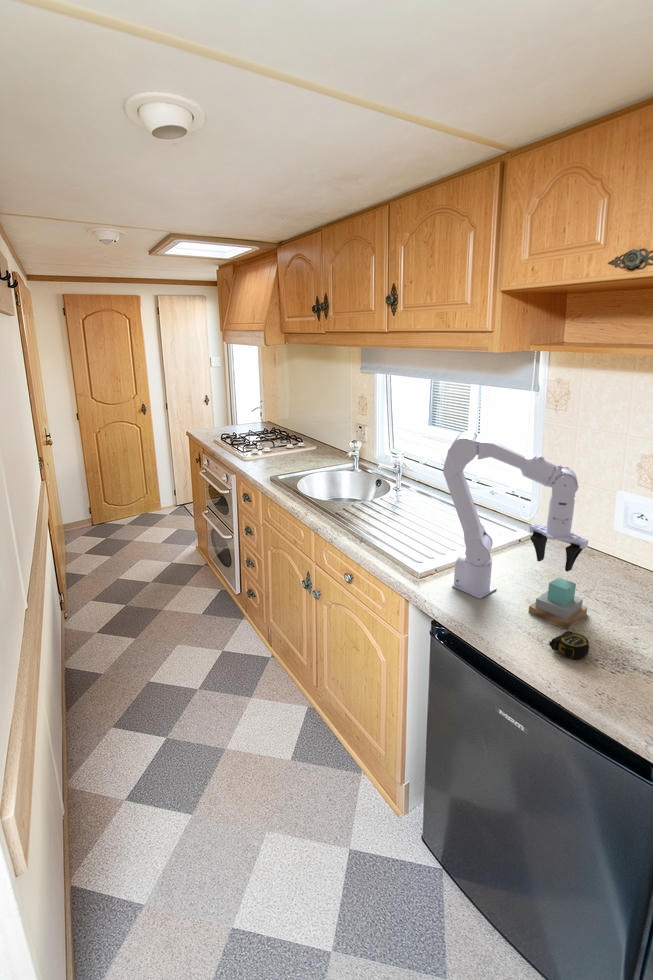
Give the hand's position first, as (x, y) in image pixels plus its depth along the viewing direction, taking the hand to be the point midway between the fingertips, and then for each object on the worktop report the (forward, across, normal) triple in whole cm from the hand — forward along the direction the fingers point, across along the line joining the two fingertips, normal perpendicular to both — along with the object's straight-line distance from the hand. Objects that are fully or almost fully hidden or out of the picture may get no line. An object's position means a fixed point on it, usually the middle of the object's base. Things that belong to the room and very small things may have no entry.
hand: (554, 565), depth 135 cm
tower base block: (+11, +5, -5) cm, 13 cm away
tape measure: (+11, +14, -18) cm, 25 cm away
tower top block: (+9, +5, -5) cm, 11 cm away
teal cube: (+6, +5, -5) cm, 9 cm away
